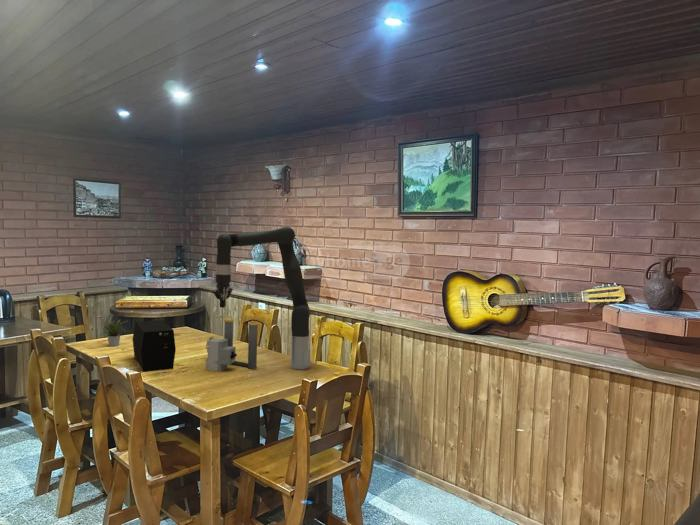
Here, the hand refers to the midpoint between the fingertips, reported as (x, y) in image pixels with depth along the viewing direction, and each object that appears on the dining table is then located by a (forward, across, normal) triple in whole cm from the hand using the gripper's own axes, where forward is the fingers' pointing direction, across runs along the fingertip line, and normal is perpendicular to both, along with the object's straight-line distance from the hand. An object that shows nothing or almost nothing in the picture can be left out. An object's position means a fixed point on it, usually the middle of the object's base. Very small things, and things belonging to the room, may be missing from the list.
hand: (222, 307), depth 253 cm
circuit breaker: (+32, +1, 0) cm, 32 cm away
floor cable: (+32, +11, -3) cm, 34 cm away
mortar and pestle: (+32, +14, +16) cm, 38 cm away
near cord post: (+32, +11, -11) cm, 36 cm away
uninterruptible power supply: (+32, -10, +37) cm, 50 cm away
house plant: (+32, +7, +87) cm, 93 cm away
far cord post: (+32, +11, +5) cm, 34 cm away
